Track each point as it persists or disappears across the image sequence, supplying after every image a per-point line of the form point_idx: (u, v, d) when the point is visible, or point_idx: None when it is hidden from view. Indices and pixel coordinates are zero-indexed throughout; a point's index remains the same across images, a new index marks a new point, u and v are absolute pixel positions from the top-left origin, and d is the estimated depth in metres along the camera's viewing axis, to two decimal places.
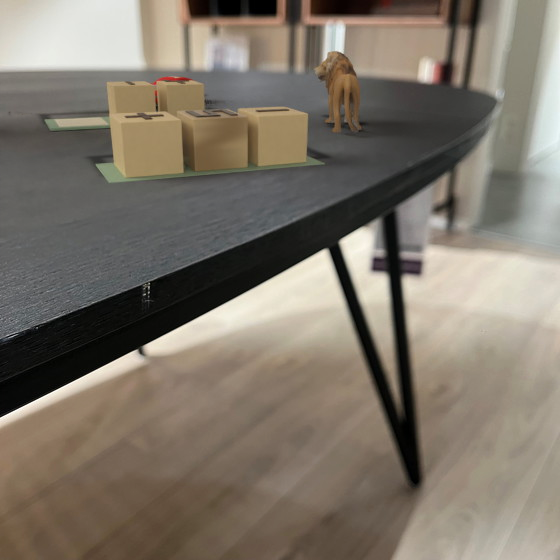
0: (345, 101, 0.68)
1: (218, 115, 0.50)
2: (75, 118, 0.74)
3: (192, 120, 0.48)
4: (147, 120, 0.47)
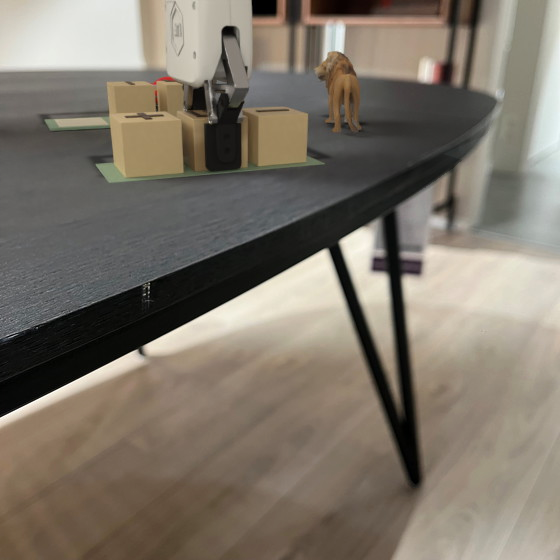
0: (345, 101, 0.68)
1: None
2: (75, 118, 0.74)
3: (192, 120, 0.48)
4: (147, 120, 0.47)
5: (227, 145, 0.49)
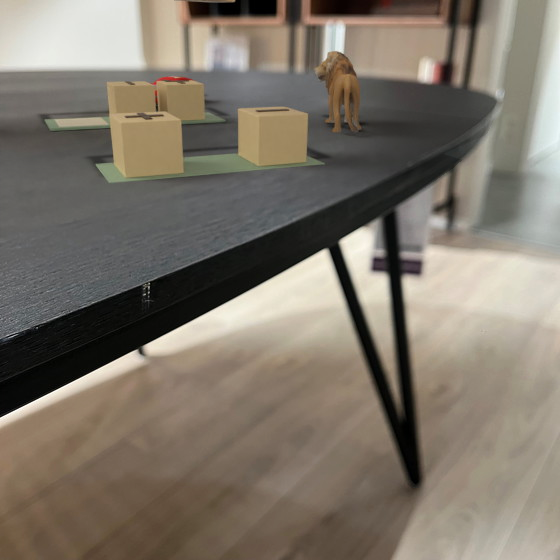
0: (345, 101, 0.68)
1: None
2: (75, 118, 0.74)
3: None
4: (147, 120, 0.47)
5: None
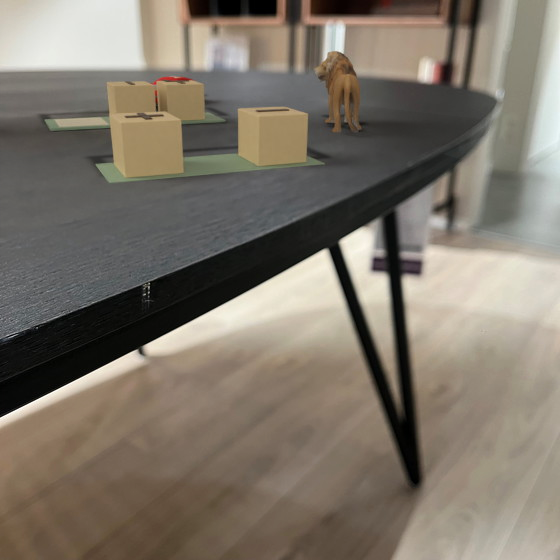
0: (345, 101, 0.68)
1: None
2: (75, 118, 0.74)
3: None
4: (147, 120, 0.47)
5: None
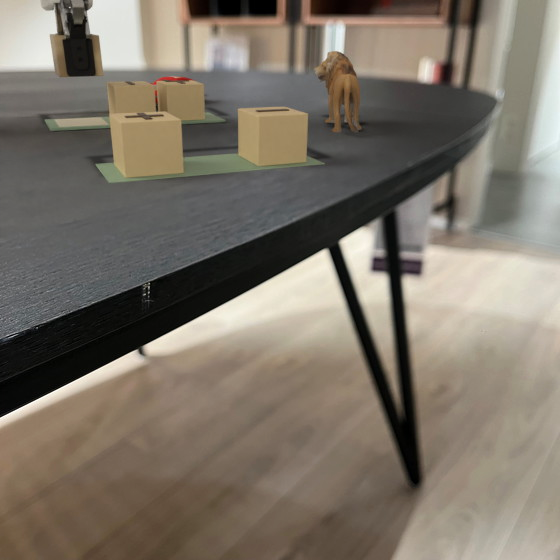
0: (345, 101, 0.68)
1: None
2: (75, 118, 0.74)
3: (53, 36, 0.65)
4: (147, 120, 0.47)
5: (80, 56, 0.65)
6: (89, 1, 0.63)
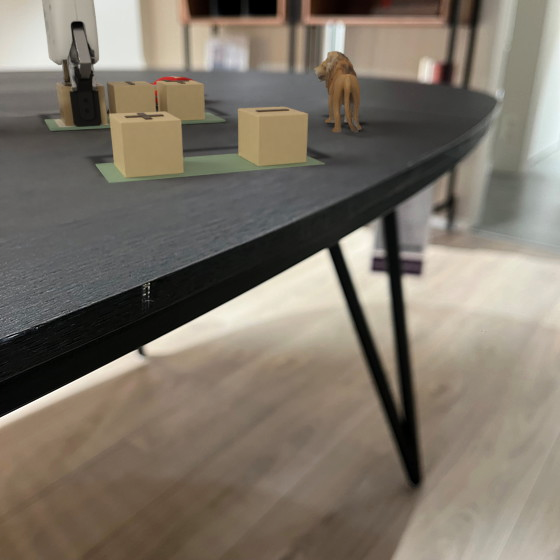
0: (345, 101, 0.68)
1: None
2: None
3: (60, 87, 0.67)
4: (147, 120, 0.47)
5: (87, 107, 0.67)
6: (95, 57, 0.65)
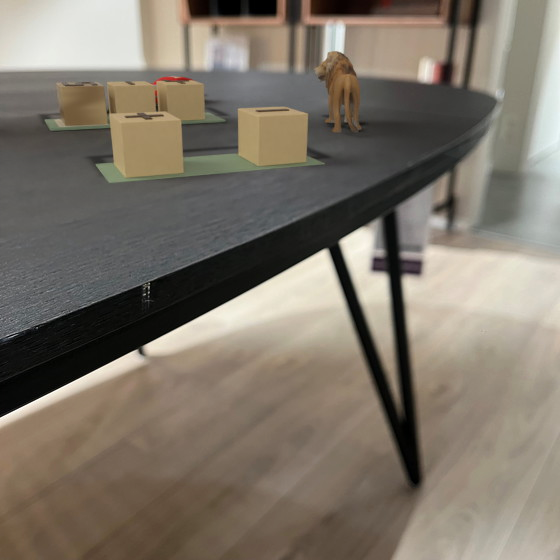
0: (345, 101, 0.68)
1: (82, 84, 0.69)
2: None
3: (60, 87, 0.67)
4: (147, 120, 0.47)
5: None
6: None
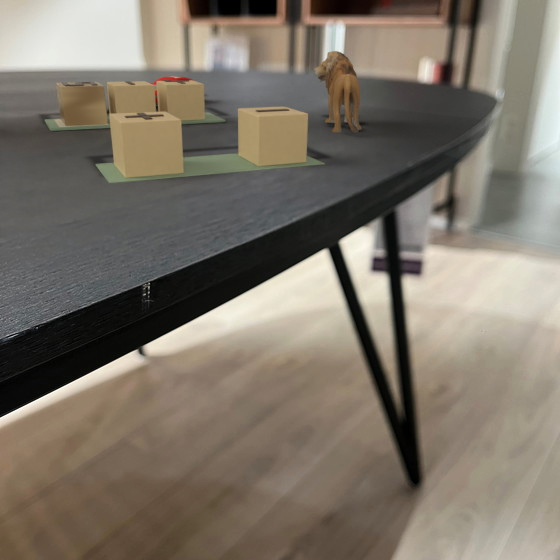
0: (345, 101, 0.68)
1: (82, 84, 0.69)
2: None
3: (60, 87, 0.67)
4: (147, 120, 0.47)
5: None
6: None
